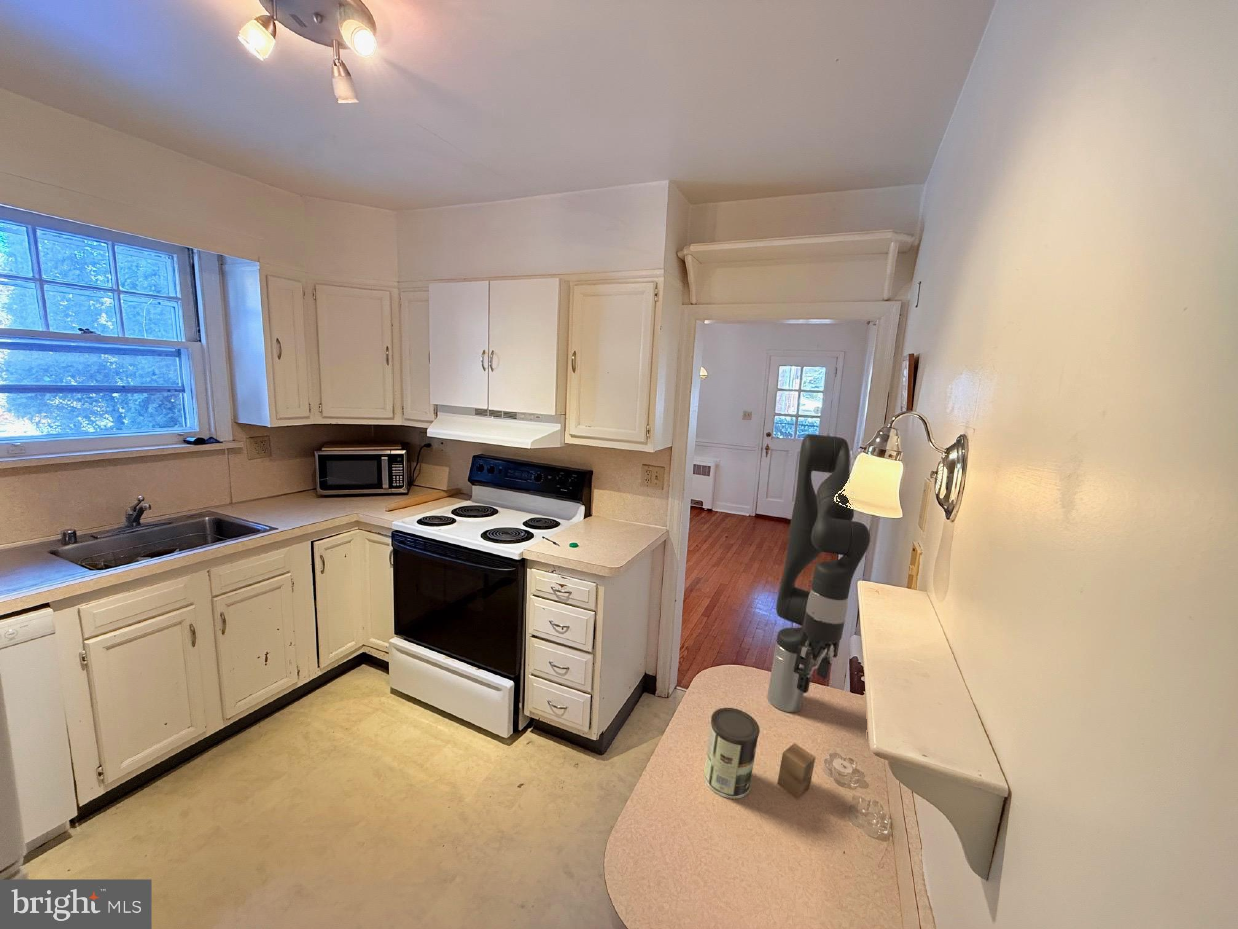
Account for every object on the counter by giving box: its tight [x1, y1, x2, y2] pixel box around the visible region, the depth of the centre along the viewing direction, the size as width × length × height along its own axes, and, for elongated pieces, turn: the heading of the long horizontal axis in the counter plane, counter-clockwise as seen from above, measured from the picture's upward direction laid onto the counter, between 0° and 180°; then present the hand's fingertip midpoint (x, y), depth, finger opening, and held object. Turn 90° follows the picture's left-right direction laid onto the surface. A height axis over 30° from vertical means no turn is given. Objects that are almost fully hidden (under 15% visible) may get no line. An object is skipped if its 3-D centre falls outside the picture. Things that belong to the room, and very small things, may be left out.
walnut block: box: [776, 742, 816, 800], centre depth 107 cm, size 5×5×8 cm
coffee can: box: [703, 707, 760, 800], centre depth 106 cm, size 10×10×14 cm
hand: (812, 683), depth 103 cm, fingers open, 8 cm apart
